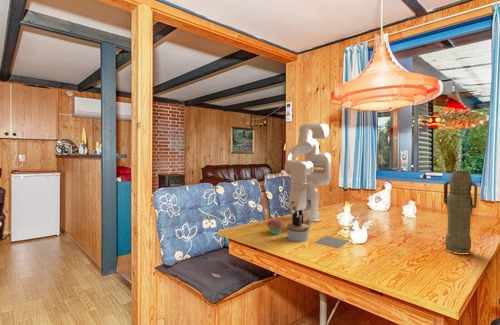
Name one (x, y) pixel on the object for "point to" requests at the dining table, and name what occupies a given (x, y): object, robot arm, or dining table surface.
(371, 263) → the dining table surface
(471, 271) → the dining table surface
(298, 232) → the bowl
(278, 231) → the cupcake
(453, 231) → the thermos
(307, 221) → the coffee box
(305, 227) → the lid
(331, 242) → the mat
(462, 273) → the dining table surface
